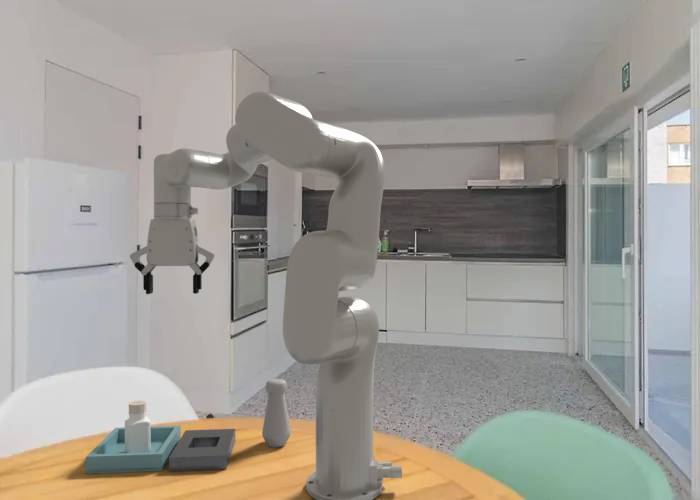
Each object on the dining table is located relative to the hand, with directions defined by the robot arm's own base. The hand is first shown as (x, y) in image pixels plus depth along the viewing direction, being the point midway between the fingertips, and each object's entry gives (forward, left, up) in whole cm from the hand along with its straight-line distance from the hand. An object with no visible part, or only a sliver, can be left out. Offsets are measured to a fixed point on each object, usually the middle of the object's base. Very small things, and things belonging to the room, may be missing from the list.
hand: (172, 293), depth 113 cm
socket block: (-9, +12, -30) cm, 34 cm away
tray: (+4, +11, -30) cm, 32 cm away
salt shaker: (-22, +8, -30) cm, 38 cm away
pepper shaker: (+4, +11, -30) cm, 32 cm away
